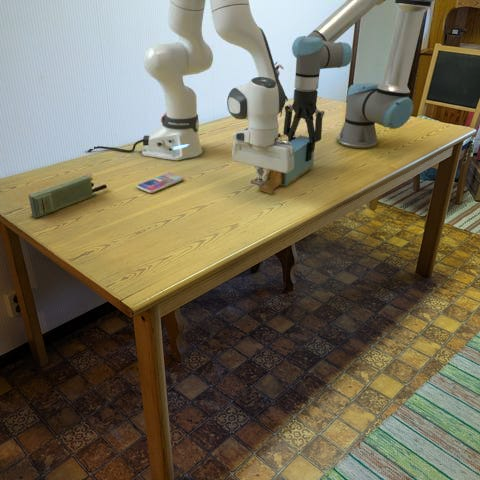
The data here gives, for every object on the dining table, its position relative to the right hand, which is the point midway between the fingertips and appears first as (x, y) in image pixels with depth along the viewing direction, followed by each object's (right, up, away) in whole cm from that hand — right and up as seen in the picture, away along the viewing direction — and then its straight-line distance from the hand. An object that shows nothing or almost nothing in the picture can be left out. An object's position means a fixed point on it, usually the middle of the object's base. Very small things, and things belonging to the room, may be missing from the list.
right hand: (299, 158), depth 173 cm
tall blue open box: (-3, -6, -1) cm, 6 cm away
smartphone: (-46, -10, -9) cm, 48 cm away
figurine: (-8, +15, +36) cm, 39 cm away
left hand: (-14, -10, -18) cm, 25 cm away
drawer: (-9, -10, -9) cm, 16 cm away
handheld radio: (-71, -17, -22) cm, 76 cm away
